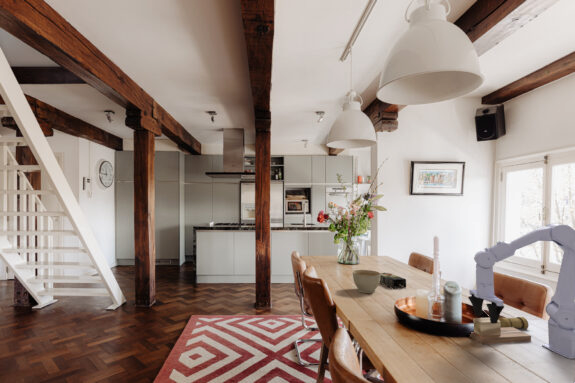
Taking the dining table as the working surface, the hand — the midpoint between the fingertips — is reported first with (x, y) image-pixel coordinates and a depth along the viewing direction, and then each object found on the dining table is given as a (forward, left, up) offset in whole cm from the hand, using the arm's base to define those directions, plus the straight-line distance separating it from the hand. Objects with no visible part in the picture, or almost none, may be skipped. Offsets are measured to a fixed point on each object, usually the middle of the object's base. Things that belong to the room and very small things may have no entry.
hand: (485, 319), depth 115 cm
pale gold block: (0, 0, -5) cm, 5 cm away
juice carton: (+79, 0, -8) cm, 79 cm away
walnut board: (0, -5, -7) cm, 9 cm away
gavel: (+16, -19, -8) cm, 26 cm away
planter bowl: (+66, +21, -8) cm, 70 cm away
